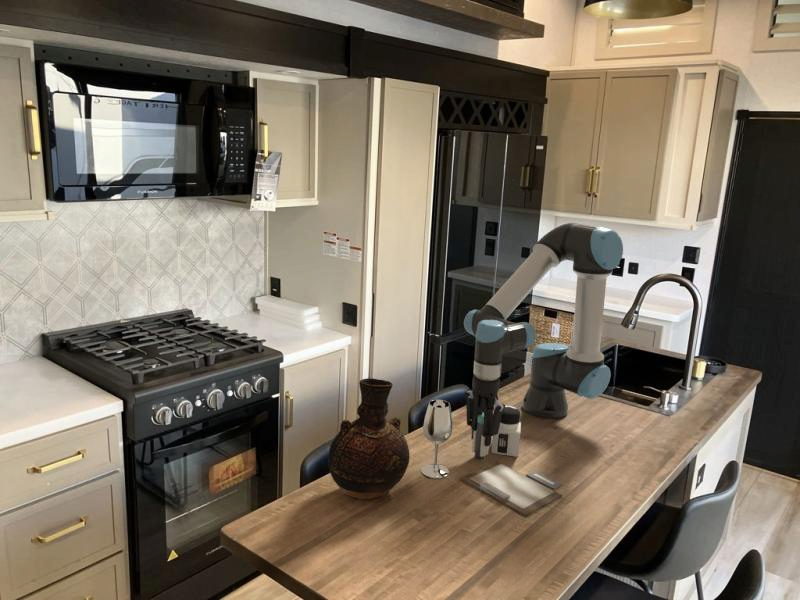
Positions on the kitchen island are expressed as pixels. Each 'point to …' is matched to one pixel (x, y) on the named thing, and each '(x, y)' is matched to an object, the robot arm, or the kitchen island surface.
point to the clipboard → (511, 488)
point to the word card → (544, 480)
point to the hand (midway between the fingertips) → (480, 452)
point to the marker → (479, 436)
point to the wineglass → (437, 434)
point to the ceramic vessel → (369, 446)
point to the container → (508, 433)
